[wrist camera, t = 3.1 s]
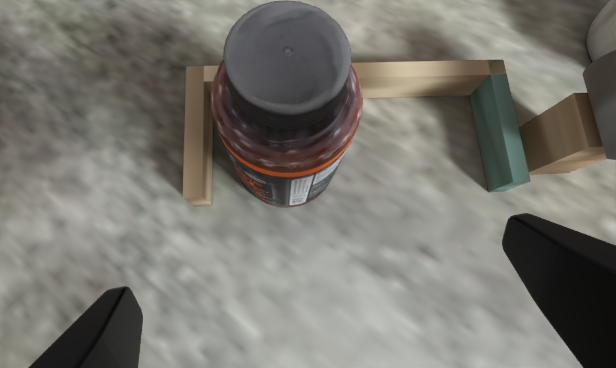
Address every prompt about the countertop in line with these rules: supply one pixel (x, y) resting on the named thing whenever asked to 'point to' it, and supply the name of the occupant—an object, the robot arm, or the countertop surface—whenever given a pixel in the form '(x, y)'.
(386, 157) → the countertop surface
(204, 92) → the frame
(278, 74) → the supplement bottle
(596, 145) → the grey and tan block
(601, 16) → the cupcake
